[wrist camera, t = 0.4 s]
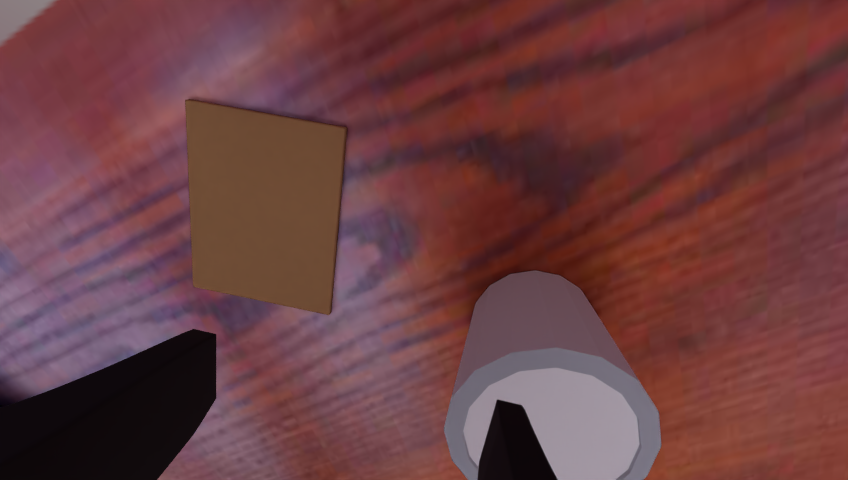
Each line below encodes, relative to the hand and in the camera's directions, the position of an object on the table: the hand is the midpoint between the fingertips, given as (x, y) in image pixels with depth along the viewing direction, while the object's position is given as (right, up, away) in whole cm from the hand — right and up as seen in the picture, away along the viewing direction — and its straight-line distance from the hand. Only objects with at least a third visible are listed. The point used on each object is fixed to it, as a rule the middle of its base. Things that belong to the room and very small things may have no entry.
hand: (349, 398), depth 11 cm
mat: (-5, +5, +10) cm, 12 cm away
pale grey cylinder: (+7, 0, +10) cm, 12 cm away
